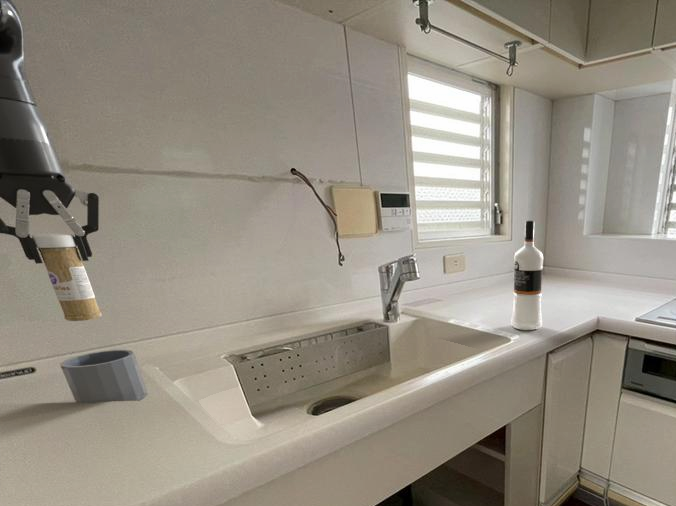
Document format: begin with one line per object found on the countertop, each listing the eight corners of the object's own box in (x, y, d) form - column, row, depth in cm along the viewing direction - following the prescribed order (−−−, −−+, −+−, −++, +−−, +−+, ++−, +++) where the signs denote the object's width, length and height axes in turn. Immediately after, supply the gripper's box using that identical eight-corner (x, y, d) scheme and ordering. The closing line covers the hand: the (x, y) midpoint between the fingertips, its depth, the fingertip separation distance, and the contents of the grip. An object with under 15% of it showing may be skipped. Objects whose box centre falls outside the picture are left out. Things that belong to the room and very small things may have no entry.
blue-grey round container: (62, 412, 67) (43, 367, 64) (108, 390, 76) (92, 350, 73) (121, 410, 68) (104, 366, 65) (159, 389, 77) (146, 349, 74)
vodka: (546, 329, 118) (551, 220, 107) (516, 331, 116) (518, 220, 105) (535, 322, 126) (539, 220, 115) (507, 324, 124) (508, 220, 113)
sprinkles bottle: (57, 321, 65) (21, 234, 61) (85, 315, 70) (54, 233, 65) (84, 322, 65) (50, 234, 60) (110, 315, 70) (81, 233, 65)
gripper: (83, 148, 65) (120, 257, 71) (-61, 136, 55) (-4, 263, 62) (85, 142, 60) (124, 260, 66) (-72, 128, 51) (-9, 267, 57)
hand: (62, 261), depth 64 cm, fingers closed on sprinkles bottle, 4 cm apart
